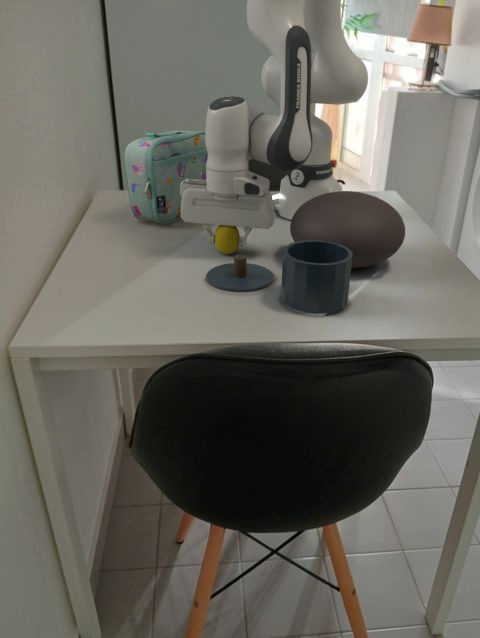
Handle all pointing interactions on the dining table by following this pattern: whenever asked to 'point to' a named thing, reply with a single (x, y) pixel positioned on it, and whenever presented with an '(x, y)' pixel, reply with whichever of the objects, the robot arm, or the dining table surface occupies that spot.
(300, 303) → the tin
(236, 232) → the lemon
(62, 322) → the dining table surface
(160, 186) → the lunch box
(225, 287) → the lid
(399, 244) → the flattened ellipsoid
